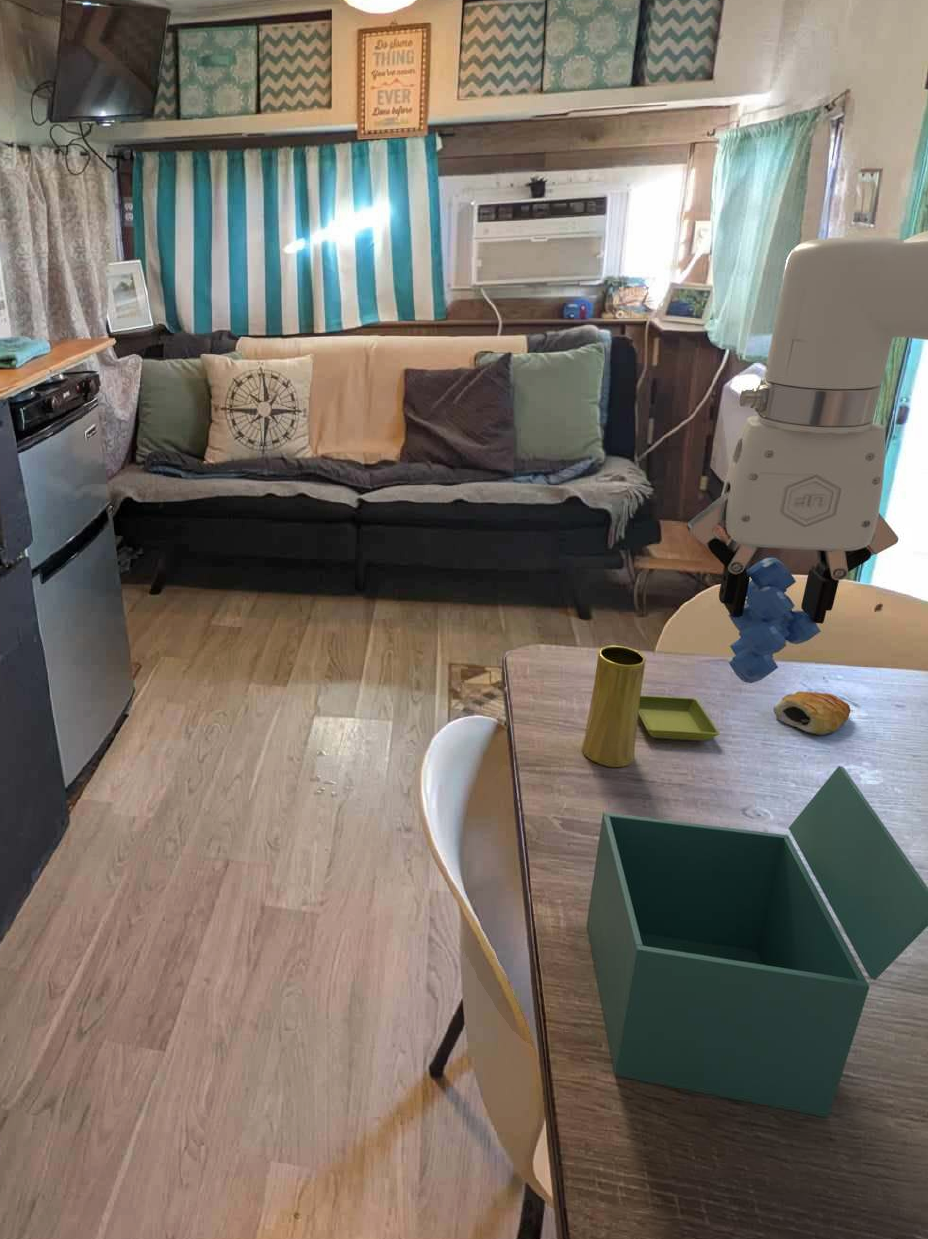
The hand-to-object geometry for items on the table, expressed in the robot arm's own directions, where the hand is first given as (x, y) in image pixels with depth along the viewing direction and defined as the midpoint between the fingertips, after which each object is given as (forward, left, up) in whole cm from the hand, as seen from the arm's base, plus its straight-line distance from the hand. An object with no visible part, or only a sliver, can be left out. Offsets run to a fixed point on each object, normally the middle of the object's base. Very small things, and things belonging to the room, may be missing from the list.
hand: (771, 611), depth 72 cm
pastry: (-21, -38, -33) cm, 54 cm away
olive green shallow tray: (-3, -33, -33) cm, 46 cm away
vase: (+6, -25, -33) cm, 41 cm away
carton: (+5, +13, -32) cm, 35 cm away
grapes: (0, 0, -7) cm, 7 cm away
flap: (-4, +13, -15) cm, 20 cm away
